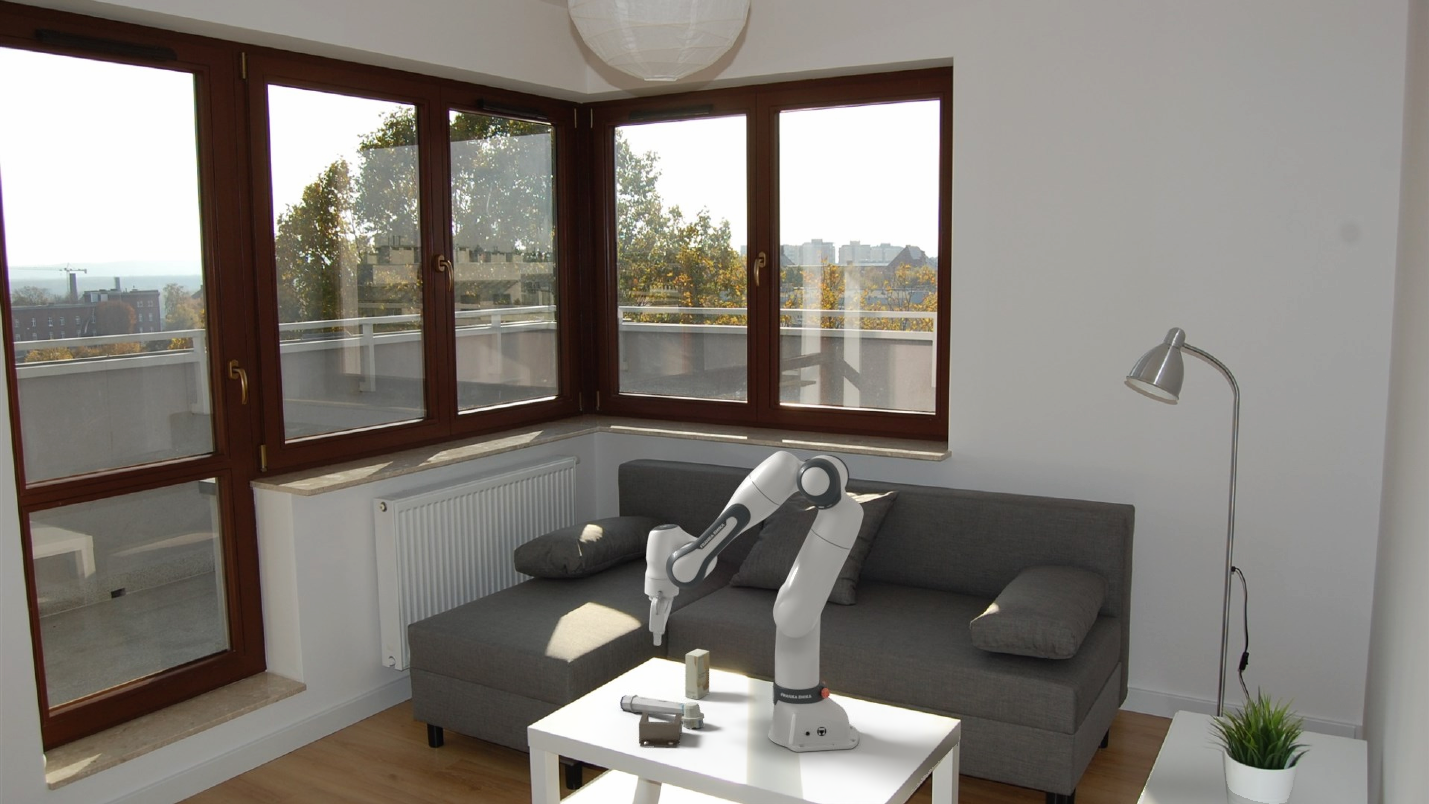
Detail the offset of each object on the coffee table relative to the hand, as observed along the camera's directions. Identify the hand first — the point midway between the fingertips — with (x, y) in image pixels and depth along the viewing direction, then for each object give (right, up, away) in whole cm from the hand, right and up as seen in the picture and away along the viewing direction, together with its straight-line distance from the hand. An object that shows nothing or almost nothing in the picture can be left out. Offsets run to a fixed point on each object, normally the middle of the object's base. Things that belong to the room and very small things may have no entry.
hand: (659, 638), depth 278 cm
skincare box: (+10, -20, +20) cm, 30 cm away
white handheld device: (+1, -22, +4) cm, 22 cm away
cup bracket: (+1, -23, -9) cm, 24 cm away
